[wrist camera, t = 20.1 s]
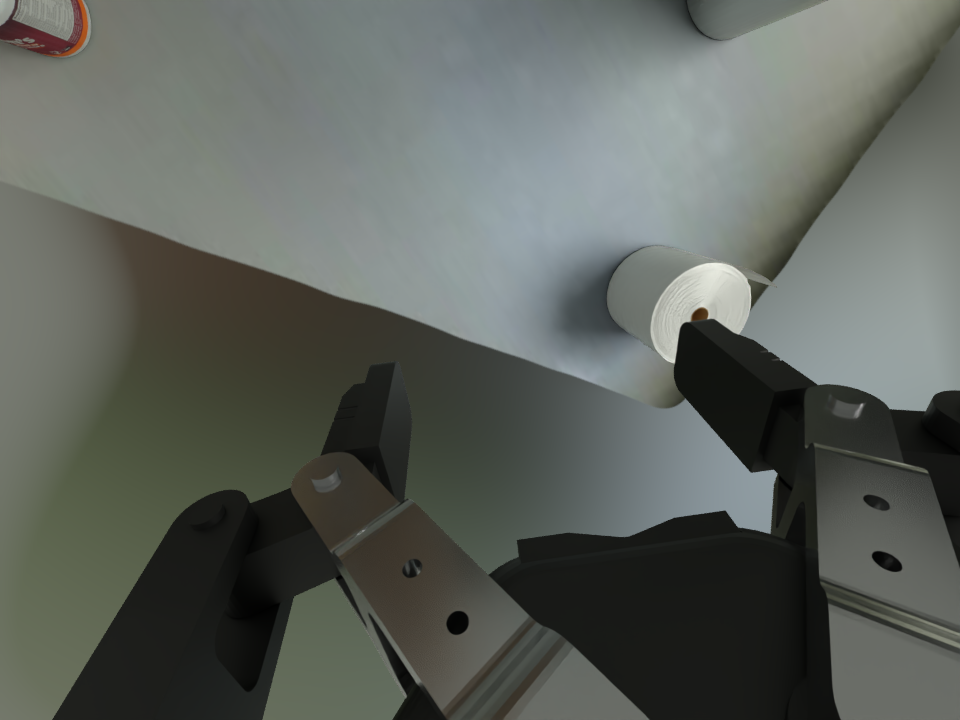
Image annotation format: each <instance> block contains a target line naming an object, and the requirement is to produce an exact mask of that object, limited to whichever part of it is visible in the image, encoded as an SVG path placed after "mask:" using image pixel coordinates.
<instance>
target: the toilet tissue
mask: <svg viewBox="0 0 960 720" xmlns="http://www.w3.org/2000/svg"><path fill="white" fill-rule="evenodd" d="M747 278H748V279H751V280H754V281H757V282H760V283H764V284H767V285H770V286H774V287H777V286H776V285H775V284H773V283H772V282H770V281H769V280H768V279H767V278H765V277H763V276H761V275H760V274H757V273H755V272H753V271H752V270H749V269H746V268H743V267H740V266H737V265H733V264H730V263H726V262H722V261H719V260H715V259H712V258H708V257H705V256H701V255H698V254H695V253H691V252H687V251H684V250H680V249H676V248H671V247H665V246H649V247H646V248H642V249H640V250H638V251H636V252H634V253H633V254H631V255H630V256H629V257H627V258H626V259H625V260H624V261H623V262H622V263H621V264H620V265H619V266H618V268H617V269H616V271H615V272H614V274H613V276H612V278H611V280H610V283H609V287H608V290H607V306H608V310H609V313H610V315H611V317H612V318H613V320H614V321H615V322H616V323H617V324H618V325H619V326H620V327H621V328H623V329H624V330H625V331H626V332H628V333H629V334H631V335H633V336H634V337H635V338H637V339H638V340H640V341H641V342H642V343H643V344H644V345H646V346H648V347H649V348H651V350H653V351H655V352H656V353H658V354H659V355H660V356H661V357H663V358H664V359H666V360H667V361H669V362H672V363H675V358H676V351H677V344H678V337H679V331H680V327H681V325H682V324H683V323H685V322H690V321H698V320H705V319H715V320H717V321H718V322H719V323H721V324H722V325H724V326H725V327H726V328H728V329H729V330H731V331H732V332H733V333H736V334H740V332H741V330H742V329H743V327H744V325H745V323H746V320H747V318H748V315H749V311H750V307H751V293H750V289H751V287H750V286H749V284H748V281H747Z"/></svg>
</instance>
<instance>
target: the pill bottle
mask: <svg viewBox="0 0 960 720" xmlns="http://www.w3.org/2000/svg"><path fill="white" fill-rule="evenodd" d="M90 35H91V19H90V14H89V10H88V8H87V5H86V3H85V1H84V0H0V40H1V41H4V42H7V43H10V44H13V45H16V46H19V47H22V48H25V49H28V50H31V51H34V52H37V53H40V54H44V55H47V56H51V57H58V58H64V57H71V56H74V55H76V54H78V53H79V52H81V51H82V50H83V49H84V48H85V47H86V45H87V44H88V42H89V39H90Z"/></svg>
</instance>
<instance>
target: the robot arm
mask: <svg viewBox="0 0 960 720" xmlns="http://www.w3.org/2000/svg"><path fill="white" fill-rule="evenodd" d="M825 1H828V0H687V5H688V10H689V12H690V15H691V18H692V20H693V22H694V23H695V25H696V26H697V28H698V29H699V30H700V31H701V32H702V33H704V34H705V35H706V36H709V37H711V38H713V39H718V40H727V39H732V38H735V37H737V36H740V35H743V34H745V33H748V32H750V31H753V30H755V29H758V28H760V27H763V26H766V25H768V24H771V23H773V22H776V21H778V20H781V19H783V18H786V17H788V16H791V15H793V14H796V13H798V12H801V11H803V10H805V9H808V8H810V7H813V6H815V5H818V4H820V3H823V2H825ZM674 379H675V383H676V386H677V388H678V390H679V391H680V393H681V394H682V395H683V396H684V397H685V398H686V399H687V400H688V402H689V403H690V404H691V405H692V406H693V407H694V408H695V410H696V411H697V412H698V413H699V414H700V415H701V416H702V417H703V419H704V420H705V421H706V422H707V423H708V424H709V425H710V427H711V428H712V429H713V430H714V431H715V432H716V433H717V434H718V436H719V437H720V438H721V439H722V440H723V441H724V442H725V443H726V445H727V446H728V447H729V448H730V449H731V450H732V451H733V453H734V454H735V455H736V456H737V457H738V458H739V460H740V461H741V462H742V463H743V464H744V465H745V466H746V467H747V469H749V471H750V472H752V473H753V472H760V471H766V470H775V471H776V472H777V473H778V474H777V477H776V480H775V483H774V490H773V506H772V520H771V534H768V533H764V532H760V531H756V530H750V529H745V528H738V527H737V526H736V524H735V523H734V522H733V520H732V519H731V518H730V516H729V515H728V514H727V512H726V511H719V512H712V513H705V514H698V515H691V516H684V517H677V518H673V519H671V520H668V521H666V522H664V523H661V524H658V525H656V526H654V527H651V528H649V529H647V530H644V531H642V532H640V533H637V534H635V535H632V536H630V537H612V536H600V535H589V534H576V533H564V534H556V535H550V536H542V537H535V538H528V539H521V540H517V545H518V554H519V557H517V558H515V559H513V560H510V561H508V562H507V563H505V564H504V565H502V566H500V567H498V568H497V569H496V570H494V571H493V572H492V573H490V574H489V575H488V574H487V573H486V572H485V571H484V570H483V569H482V568H481V567H480V566H479V565H478V564H477V563H476V562H475V561H474V560H473V559H472V558H470V556H469V555H468V554H467V553H465V551H463V549H462V548H461V547H459V545H457V544H456V543H455V542H454V541H453V540H452V539H451V538H450V537H449V536H448V535H447V534H446V533H445V532H444V531H443V530H442V529H441V528H440V527H439V526H438V525H437V524H436V523H435V522H434V521H433V520H432V519H431V518H430V517H429V516H428V515H427V514H426V513H425V512H424V511H423V510H422V509H421V508H420V507H419V506H418V505H417V504H416V503H415V502H413V501H412V500H410V499H406V500H404V498H405V488H406V479H407V469H408V459H409V450H410V441H411V431H412V416H411V409H410V404H409V400H408V396H407V392H406V388H405V384H404V380H403V376H402V372H401V368H400V365H399V363H398V362H397V361H394V362H387V363H379V364H372V365H371V366H370V368H369V371H368V374H367V378H366V381H365V383H362V384H355V385H353V386H352V387H351V388H350V389H349V390H348V391H347V392H346V394H344V395H343V396H342V399H341V402H340V405H339V407H338V411H337V413H336V415H335V418H334V422H333V423H332V426H331V429H330V431H329V434H328V437H327V440H326V442H325V445H324V448H323V450H322V453H321V456H319V457H317V458H315V459H313V460H311V461H310V462H308V463H307V464H306V465H304V466H303V467H302V468H301V469H300V470H299V471H298V472H297V473H296V475H295V476H294V478H293V481H292V483H291V488H289V489H287V490H284V491H282V492H279V493H277V494H274V495H271V496H269V497H266V498H264V499H261V500H258V501H256V502H253V503H250V502H249V500H248V498H247V496H246V495H245V494H244V493H243V492H241V491H238V490H223V491H219V492H216V493H213V494H210V495H208V496H206V497H204V498H202V499H200V500H198V501H197V502H195V503H193V504H192V505H191V506H189V507H188V508H187V509H185V510H184V511H183V512H182V513H181V514H180V515H179V516H178V517H177V518H176V520H175V521H174V522H173V524H172V525H171V527H170V528H169V530H168V532H167V534H166V535H165V537H164V538H163V540H162V542H161V543H160V545H159V546H158V548H157V550H156V551H155V553H154V555H153V556H152V558H151V559H150V561H149V563H148V564H147V566H146V568H145V569H144V571H143V573H142V574H141V576H140V578H139V579H138V581H137V583H136V584H135V586H134V587H133V589H132V591H131V592H130V594H129V596H128V597H127V599H126V600H125V602H124V604H123V605H122V607H121V609H120V610H119V612H118V613H117V615H116V617H115V618H114V620H113V621H112V623H111V625H110V626H109V628H108V630H107V631H106V633H105V635H104V636H103V638H102V640H101V641H100V643H99V644H98V646H97V648H96V649H95V651H94V653H93V654H92V656H91V657H90V659H89V661H88V662H87V664H86V666H85V667H84V669H83V671H82V672H81V674H80V675H79V677H78V679H77V680H76V682H75V684H74V685H73V687H72V688H71V690H70V692H69V693H68V695H67V697H66V698H65V700H64V702H63V703H62V705H61V706H60V708H59V710H58V711H57V713H56V715H55V716H54V718H53V719H52V720H262V719H263V715H264V711H265V707H266V703H267V699H268V695H269V691H270V688H271V683H272V679H273V676H274V672H275V668H276V664H277V660H278V656H279V652H280V649H281V645H282V641H283V637H284V633H285V629H286V626H287V622H288V617H289V614H290V610H291V606H292V602H293V598H294V596H296V595H298V594H300V593H303V592H304V591H307V590H309V589H311V588H314V587H316V586H318V585H320V584H322V583H324V582H327V581H329V580H331V579H334V580H335V581H336V583H337V585H338V586H339V588H340V590H341V591H342V592H343V594H344V596H345V598H346V599H347V601H348V602H349V604H350V606H351V607H352V609H353V610H354V612H355V614H356V615H357V617H358V619H359V620H360V622H361V623H362V625H363V626H364V628H365V630H366V631H367V633H368V634H369V636H370V638H371V640H372V641H373V643H374V645H375V646H376V648H377V650H378V652H379V654H380V656H381V657H382V659H383V661H384V663H385V665H386V666H387V668H388V670H389V672H390V673H391V675H392V677H393V678H394V680H395V682H396V683H397V685H398V687H399V688H400V690H401V692H402V693H403V695H404V696H405V698H406V699H405V700H404V702H403V703H402V705H401V707H400V708H399V710H398V712H397V713H396V715H395V716H394V718H393V720H960V391H943V392H940V393H937V394H936V395H934V397H933V398H932V400H931V402H930V404H929V406H928V408H927V410H926V411H909V410H908V411H906V410H892V409H889V408H888V407H887V405H886V404H885V403H884V402H882V401H881V400H880V399H878V398H876V397H875V396H873V395H871V394H868V393H866V392H864V391H861V390H858V389H855V388H851V387H847V386H841V385H830V384H825V385H817V384H816V383H814V382H813V381H812V380H810V379H809V378H807V377H806V376H804V375H803V374H801V373H800V372H799V371H797V370H796V369H794V368H792V367H791V366H790V365H788V364H787V363H786V362H784V361H783V360H782V361H780V358H779V357H777V356H776V355H774V354H773V353H771V352H768V350H767V349H766V348H764V347H763V346H761V345H760V344H758V343H757V342H756V341H754V340H752V339H749V338H746V337H744V336H741V335H739V334H736V333H733V332H732V331H731V330H729V329H728V328H726V327H725V326H724V325H722V324H721V323H719V322H718V321H717V320H715V319H705V320H698V321H690V322H685V323H683V324H682V325H681V327H680V331H679V337H678V344H677V351H676V358H675V365H674Z"/></svg>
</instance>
